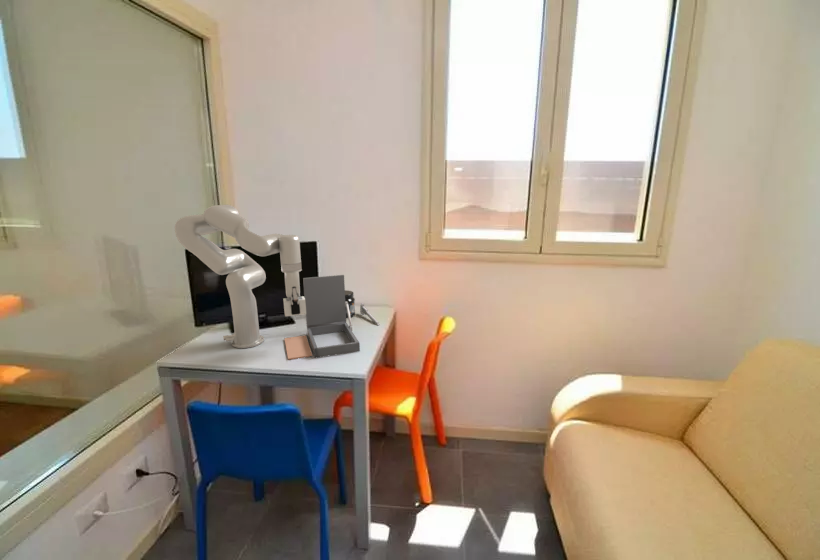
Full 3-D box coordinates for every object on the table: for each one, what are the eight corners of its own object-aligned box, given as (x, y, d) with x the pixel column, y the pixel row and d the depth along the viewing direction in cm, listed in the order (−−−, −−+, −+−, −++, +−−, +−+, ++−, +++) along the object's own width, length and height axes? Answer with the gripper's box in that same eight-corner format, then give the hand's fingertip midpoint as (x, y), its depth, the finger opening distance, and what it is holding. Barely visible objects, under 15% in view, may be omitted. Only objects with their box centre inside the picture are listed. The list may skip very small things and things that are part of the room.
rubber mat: (288, 360, 151) (288, 358, 151) (284, 339, 171) (284, 338, 171) (312, 356, 154) (312, 354, 154) (306, 336, 174) (306, 335, 174)
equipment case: (315, 357, 153) (310, 293, 147) (307, 334, 177) (303, 278, 171) (362, 350, 159) (360, 288, 153) (348, 328, 183) (346, 274, 177)
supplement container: (329, 316, 201) (328, 293, 198) (345, 311, 209) (344, 288, 206) (343, 320, 194) (342, 296, 191) (359, 315, 202) (358, 292, 199)
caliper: (360, 314, 204) (359, 302, 202) (362, 314, 204) (361, 302, 203) (378, 326, 187) (377, 313, 185) (380, 325, 187) (379, 313, 186)
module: (285, 316, 155) (283, 301, 154) (284, 312, 160) (283, 297, 159) (306, 314, 158) (305, 298, 157) (305, 310, 163) (303, 295, 161)
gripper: (280, 264, 161) (284, 307, 165) (282, 272, 146) (286, 319, 150) (299, 262, 164) (302, 305, 168) (303, 270, 148) (307, 317, 152)
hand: (295, 311), depth 159 cm, fingers closed on module, 5 cm apart
